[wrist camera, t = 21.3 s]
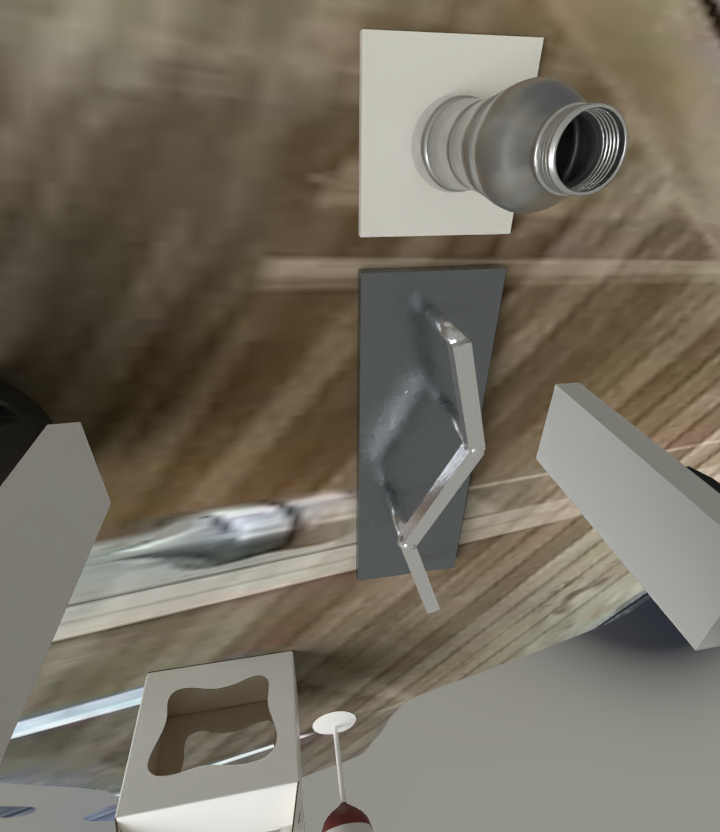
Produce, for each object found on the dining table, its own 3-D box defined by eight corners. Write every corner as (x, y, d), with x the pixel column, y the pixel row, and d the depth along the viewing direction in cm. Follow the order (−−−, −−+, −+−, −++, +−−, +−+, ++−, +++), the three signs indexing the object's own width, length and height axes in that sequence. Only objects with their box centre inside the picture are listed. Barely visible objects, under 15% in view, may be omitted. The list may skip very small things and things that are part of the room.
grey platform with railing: (356, 571, 64) (369, 637, 56) (358, 269, 42) (380, 302, 34) (450, 559, 66) (477, 620, 58) (499, 264, 44) (554, 294, 36)
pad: (358, 235, 40) (360, 237, 40) (359, 32, 33) (362, 29, 32) (505, 231, 42) (510, 233, 42) (537, 39, 35) (543, 37, 34)
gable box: (163, 716, 75) (116, 981, 51) (145, 672, 68) (80, 955, 44) (298, 693, 78) (312, 932, 55) (294, 649, 71) (307, 900, 48)
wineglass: (324, 707, 82) (340, 873, 64) (367, 713, 86) (394, 871, 67) (301, 732, 85) (310, 896, 67) (344, 736, 89) (363, 893, 71)
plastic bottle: (441, 74, 34) (605, 13, 18) (498, 138, 37) (686, 138, 21) (388, 152, 36) (489, 164, 20) (446, 206, 39) (578, 257, 23)
